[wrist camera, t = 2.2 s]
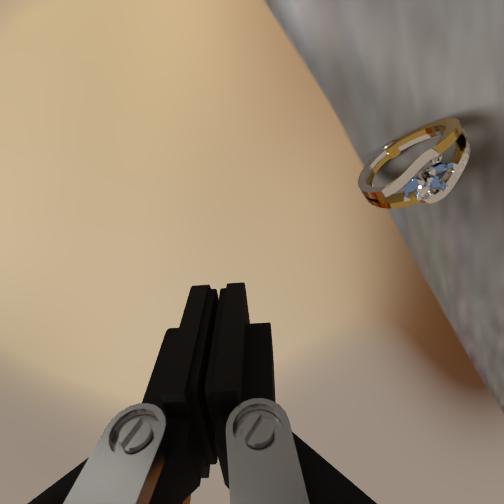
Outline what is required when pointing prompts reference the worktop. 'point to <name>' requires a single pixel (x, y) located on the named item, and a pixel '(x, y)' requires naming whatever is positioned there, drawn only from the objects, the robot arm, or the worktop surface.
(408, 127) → the worktop surface
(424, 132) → the ring
